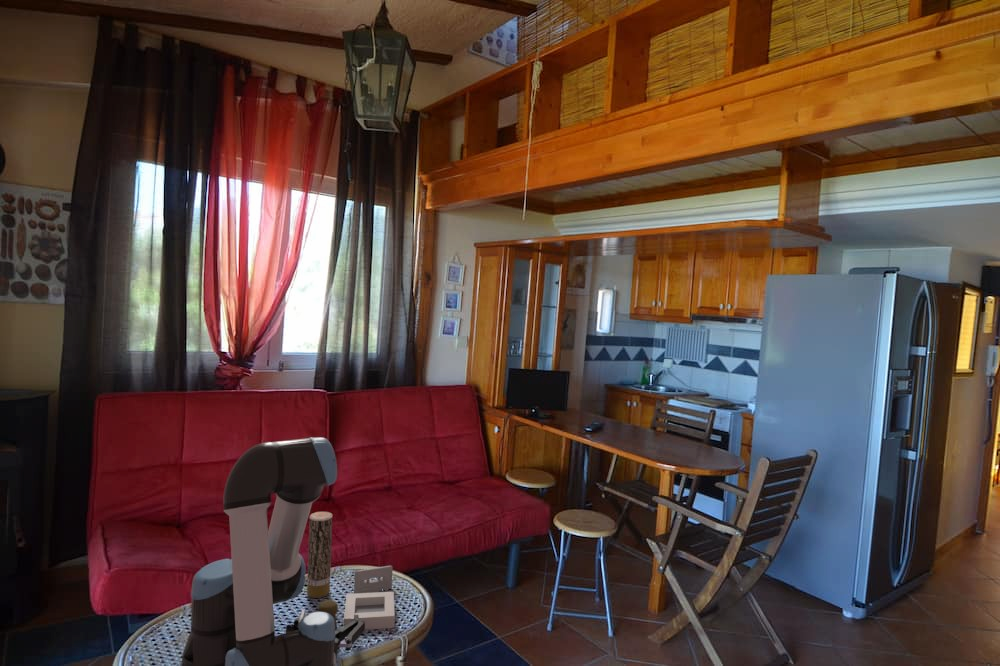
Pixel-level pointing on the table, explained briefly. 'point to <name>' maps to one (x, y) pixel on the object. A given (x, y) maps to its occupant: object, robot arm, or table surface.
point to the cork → (329, 609)
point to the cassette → (373, 585)
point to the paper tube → (319, 554)
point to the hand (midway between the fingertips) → (328, 612)
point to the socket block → (371, 609)
